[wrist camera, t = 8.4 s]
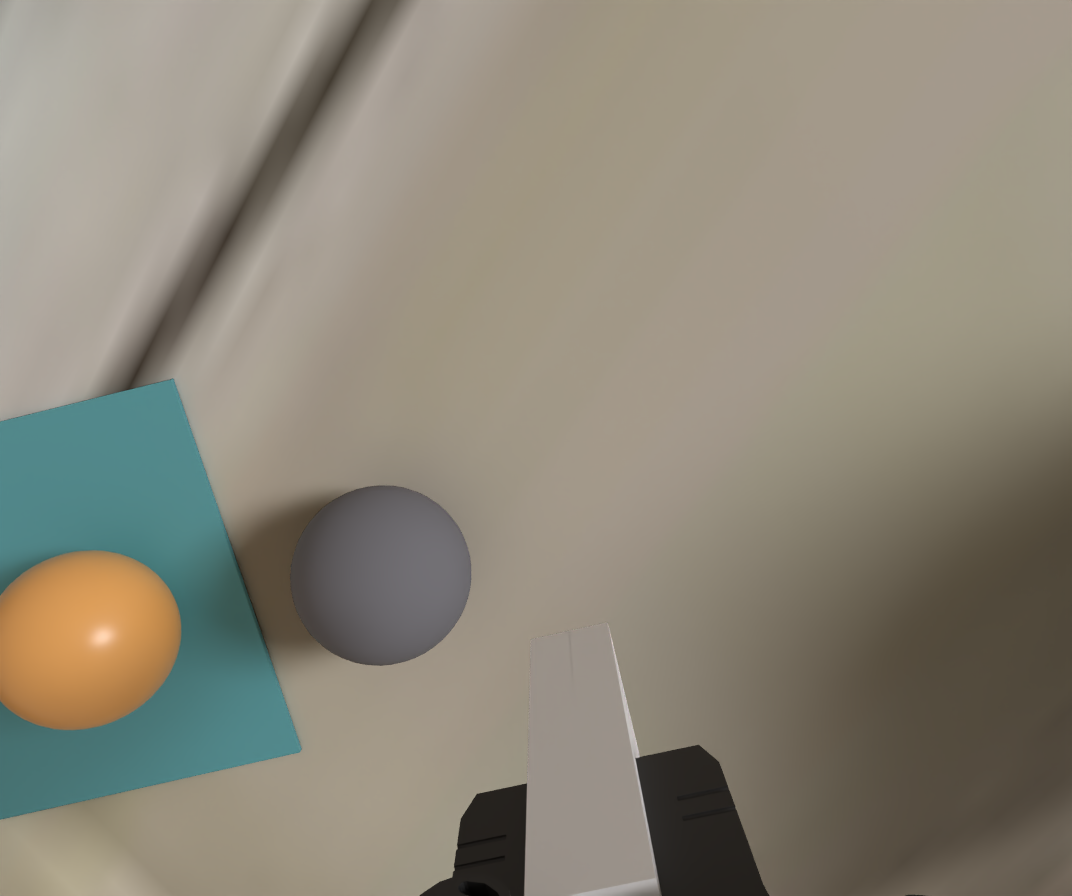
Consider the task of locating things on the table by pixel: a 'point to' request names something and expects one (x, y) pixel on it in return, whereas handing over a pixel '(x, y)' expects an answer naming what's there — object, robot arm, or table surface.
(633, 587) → the table surface
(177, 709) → the teal mark
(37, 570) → the orange ball
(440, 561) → the charcoal ball
